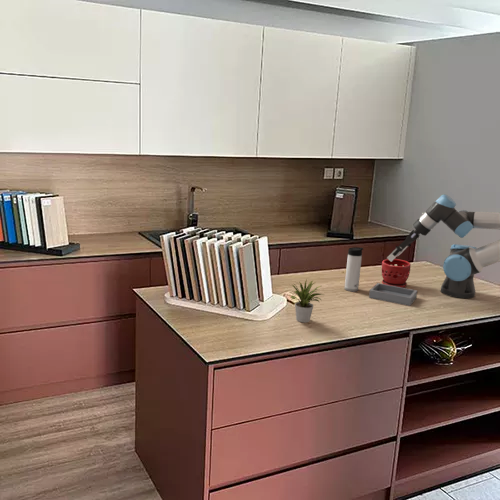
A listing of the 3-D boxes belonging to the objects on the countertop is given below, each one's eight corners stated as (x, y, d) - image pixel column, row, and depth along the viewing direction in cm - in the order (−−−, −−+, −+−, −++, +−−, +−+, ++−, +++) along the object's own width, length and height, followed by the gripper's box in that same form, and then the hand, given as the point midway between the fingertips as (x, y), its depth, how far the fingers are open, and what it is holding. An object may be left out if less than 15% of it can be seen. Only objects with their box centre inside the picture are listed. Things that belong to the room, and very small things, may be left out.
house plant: (292, 329, 207) (296, 287, 203) (276, 316, 219) (279, 276, 215) (326, 325, 213) (330, 284, 209) (308, 312, 225) (311, 273, 221)
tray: (416, 297, 252) (417, 290, 251) (409, 305, 241) (410, 298, 240) (376, 290, 260) (377, 283, 259) (368, 297, 248) (369, 290, 248)
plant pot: (379, 280, 275) (382, 257, 272) (406, 283, 272) (410, 260, 270) (379, 288, 263) (382, 264, 260) (408, 291, 260) (411, 267, 257)
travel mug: (358, 292, 255) (363, 249, 250) (344, 290, 256) (348, 248, 251) (359, 288, 261) (363, 246, 256) (344, 286, 262) (348, 245, 257)
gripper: (424, 214, 262) (393, 246, 271) (412, 222, 240) (379, 256, 249) (436, 225, 260) (404, 257, 269) (426, 234, 238) (392, 268, 248)
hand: (392, 256), depth 259 cm, fingers open, 13 cm apart
